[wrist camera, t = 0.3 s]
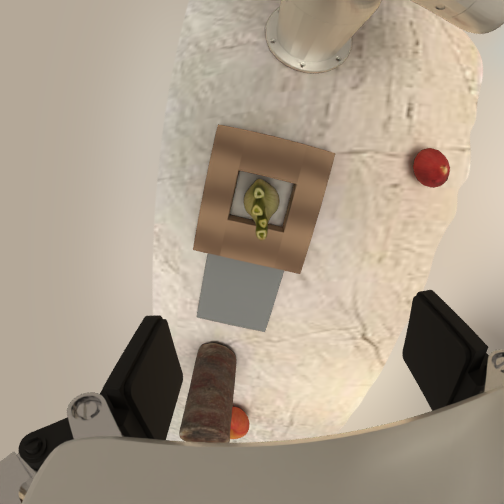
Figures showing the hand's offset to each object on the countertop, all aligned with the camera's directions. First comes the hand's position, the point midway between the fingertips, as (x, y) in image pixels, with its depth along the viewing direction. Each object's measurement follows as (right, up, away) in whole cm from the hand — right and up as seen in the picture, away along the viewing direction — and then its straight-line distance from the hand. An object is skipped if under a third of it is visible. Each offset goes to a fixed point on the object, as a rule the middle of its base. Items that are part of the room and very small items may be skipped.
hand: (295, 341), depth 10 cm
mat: (-4, -4, +37) cm, 38 cm away
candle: (-8, -16, +42) cm, 46 cm away
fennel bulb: (0, +11, +32) cm, 34 cm away
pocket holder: (0, +11, +32) cm, 34 cm away
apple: (-6, -32, +48) cm, 58 cm away
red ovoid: (+25, +17, +29) cm, 42 cm away
